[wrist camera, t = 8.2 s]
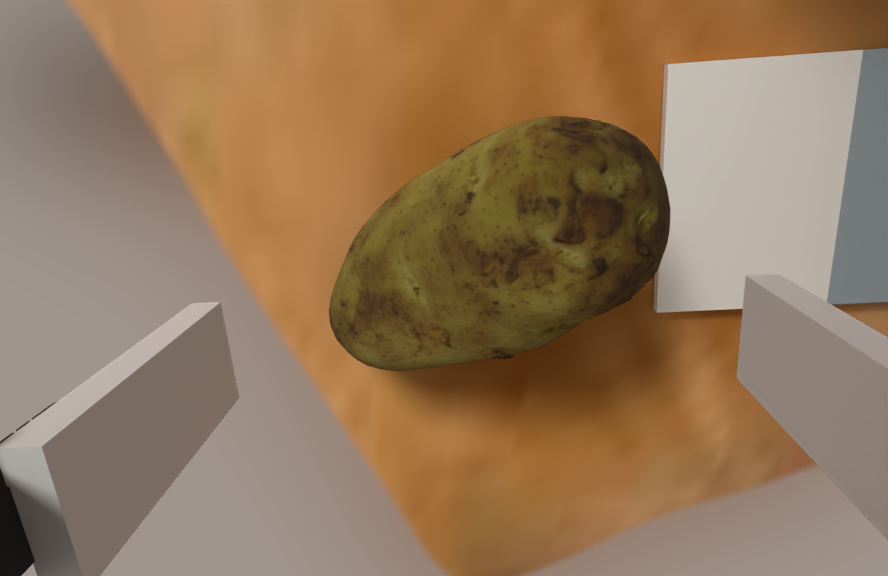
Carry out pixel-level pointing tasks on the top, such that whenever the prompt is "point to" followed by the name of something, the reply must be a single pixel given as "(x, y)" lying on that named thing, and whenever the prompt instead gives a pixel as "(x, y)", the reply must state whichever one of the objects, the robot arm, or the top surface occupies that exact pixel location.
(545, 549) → the top surface
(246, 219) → the top surface
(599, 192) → the potato
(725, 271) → the track
